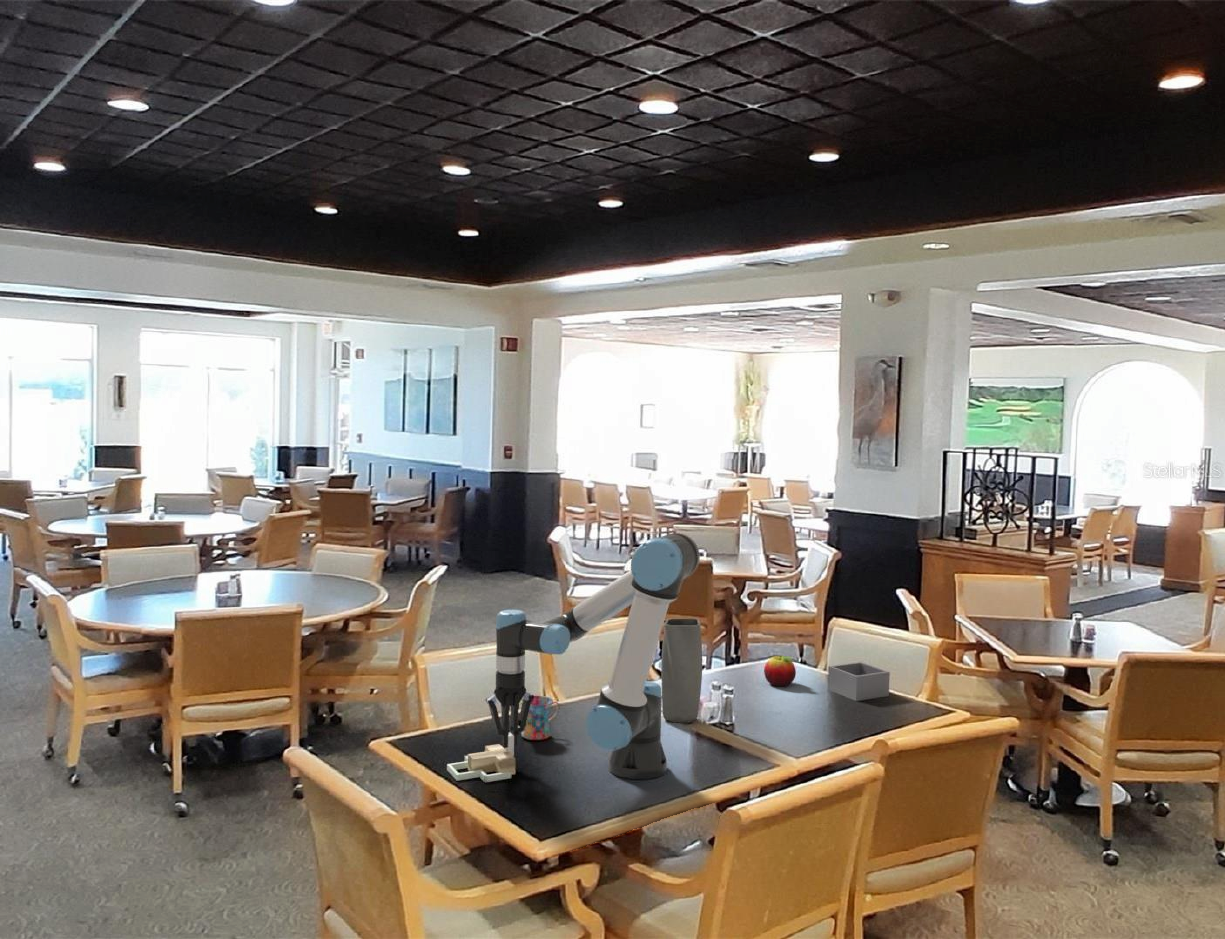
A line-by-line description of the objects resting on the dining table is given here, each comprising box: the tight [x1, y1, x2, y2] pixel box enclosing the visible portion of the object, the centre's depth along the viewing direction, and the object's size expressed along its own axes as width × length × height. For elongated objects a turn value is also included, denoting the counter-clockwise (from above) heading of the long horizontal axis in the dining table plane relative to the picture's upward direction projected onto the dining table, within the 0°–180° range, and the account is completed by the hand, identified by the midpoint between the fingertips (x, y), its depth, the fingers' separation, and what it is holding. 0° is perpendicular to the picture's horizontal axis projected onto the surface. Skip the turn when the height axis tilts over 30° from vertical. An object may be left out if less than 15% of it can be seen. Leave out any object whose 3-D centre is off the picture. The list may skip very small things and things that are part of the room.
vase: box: [660, 617, 703, 724], centre depth 296 cm, size 12×12×30 cm
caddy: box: [827, 661, 891, 702], centre depth 328 cm, size 14×14×8 cm
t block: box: [467, 743, 516, 776], centre depth 254 cm, size 12×10×4 cm
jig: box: [446, 754, 512, 783], centre depth 253 cm, size 16×13×2 cm
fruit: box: [763, 654, 797, 687], centre depth 337 cm, size 11×11×10 cm
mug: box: [520, 695, 561, 741], centre depth 280 cm, size 12×9×11 cm
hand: (509, 758), depth 257 cm, fingers closed
